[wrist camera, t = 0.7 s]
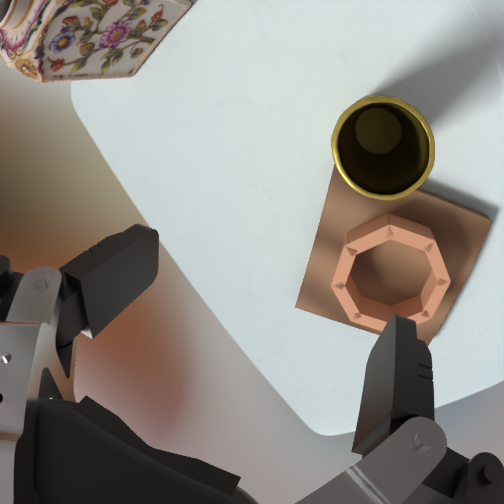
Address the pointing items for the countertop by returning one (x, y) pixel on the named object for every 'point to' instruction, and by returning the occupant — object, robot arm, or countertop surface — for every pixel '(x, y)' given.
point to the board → (390, 252)
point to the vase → (383, 147)
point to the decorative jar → (83, 36)
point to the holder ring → (376, 234)
